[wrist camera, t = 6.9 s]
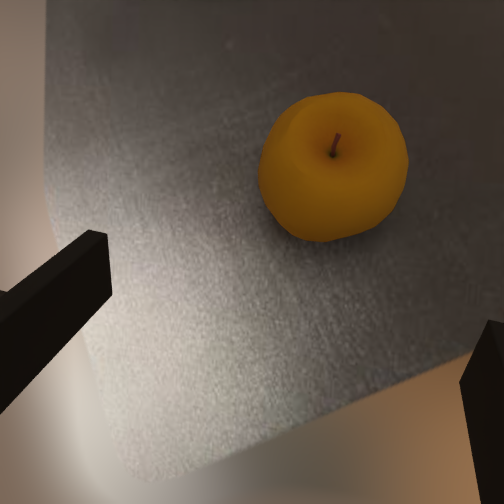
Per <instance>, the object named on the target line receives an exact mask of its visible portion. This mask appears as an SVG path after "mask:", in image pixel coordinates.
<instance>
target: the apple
mask: <svg viewBox="0 0 504 504" xmlns="http://www.w3.org/2000/svg"><path fill="white" fill-rule="evenodd" d="M408 164H409V160H408V154H407V149H406V144H405V140H404V138H403V135H402V133H401V131H400V128H399V126H398V124H397V122H396V121H395V120H394V119H393V118H392V117H391V115H390V114H389V113H388V112H387V111H386V110H385V109H384V108H383V107H382V106H380V105H378V104H377V103H375V102H373V101H371V100H369V99H367V98H366V97H364V96H362V95H360V94H355V93H346V92H335V93H329V94H323V95H317V96H312V97H306V98H305V99H303V100H301V101H299V102H297V103H295V104H293V105H291V106H290V107H289V108H288V109H287V110H286V111H284V112H283V113H282V114H281V115H280V116H279V118H278V119H277V121H276V122H275V123H274V125H273V127H272V129H271V131H270V133H269V135H268V137H267V139H266V142H265V144H264V146H263V150H262V154H261V159H260V163H259V168H258V183H259V189H260V191H261V194H262V197H263V200H264V202H265V205H266V206H267V208H268V209H269V210H270V212H271V213H272V214H273V216H274V217H275V218H276V220H277V221H278V223H279V224H280V225H281V226H282V227H283V228H285V229H286V230H287V231H288V232H289V233H291V234H292V235H293V236H296V237H298V238H301V239H303V240H306V241H317V242H328V241H332V240H336V239H340V238H344V237H348V236H352V235H356V234H359V233H361V232H363V231H366V230H368V229H371V228H373V227H375V226H376V225H378V224H379V223H380V222H381V221H382V220H383V219H384V218H385V217H386V216H388V215H389V214H390V213H391V212H392V211H393V209H394V207H395V205H396V203H397V201H398V199H399V197H400V195H401V193H402V191H403V189H404V185H405V181H406V175H407V170H408Z"/></svg>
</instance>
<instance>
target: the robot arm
mask: <svg viewBox="0 0 504 504" xmlns="http://www.w3.org/2000/svg"><path fill="white" fill-rule="evenodd" d="M111 296H112V283H111V271H110V260H109V248H108V236H107V234H106V233H102V232H97V231H93V230H87V231H86V232H84V233H83V234H82V235H81V236H79V237H78V238H77V239H75V240H74V241H73V242H71V243H70V244H69V245H68V246H66V247H65V248H64V249H62V250H61V251H60V252H58V253H57V254H56V255H54V256H53V257H52V258H51V259H49V260H48V261H47V262H46V263H44V264H43V265H42V266H40V267H39V268H38V269H37V270H35V271H34V272H32V273H31V274H30V275H28V276H27V277H26V278H25V279H23V280H22V281H21V282H19V283H18V284H17V285H15V286H14V287H13V288H11V289H10V290H9V291H8V292H5V291H1V290H0V414H1V413H2V412H3V411H4V410H5V409H6V408H7V407H8V406H9V405H10V404H11V403H12V401H13V400H14V399H15V398H16V397H17V396H18V395H19V394H20V393H21V392H22V391H23V389H25V387H27V385H28V384H29V383H30V382H31V381H32V380H33V379H34V378H35V377H36V376H37V375H38V374H39V373H40V372H41V370H42V369H43V368H44V367H45V366H46V365H47V364H48V363H49V362H50V361H51V360H52V359H53V357H55V356H56V354H57V353H58V352H59V351H60V350H61V349H62V348H63V347H64V346H65V345H66V344H67V343H68V342H69V341H70V340H71V338H72V337H73V336H74V335H75V334H76V333H77V332H78V331H79V330H80V329H81V328H82V327H83V326H84V325H85V324H86V322H87V321H88V320H89V319H90V318H91V317H92V316H93V315H94V314H95V313H96V312H97V311H98V310H99V309H100V308H101V306H102V305H103V304H104V303H105V302H106V301H107V300H108V299H109V298H110V297H111ZM459 384H460V389H461V395H462V400H463V406H464V411H465V417H466V422H467V428H468V434H469V439H470V445H471V451H472V456H473V462H474V468H475V473H476V479H477V484H478V490H479V495H480V501H481V504H504V323H501V322H497V321H492V320H488V322H487V324H486V326H485V328H484V330H483V332H482V335H481V337H480V339H479V341H478V343H477V345H476V347H475V349H474V352H473V354H472V356H471V358H470V360H469V362H468V364H467V366H466V369H465V371H464V373H463V375H462V377H461V379H460V381H459Z"/></svg>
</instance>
